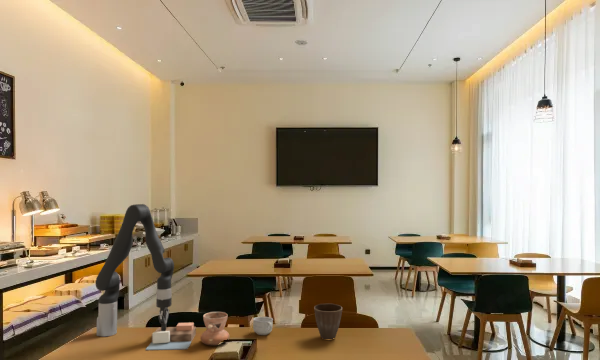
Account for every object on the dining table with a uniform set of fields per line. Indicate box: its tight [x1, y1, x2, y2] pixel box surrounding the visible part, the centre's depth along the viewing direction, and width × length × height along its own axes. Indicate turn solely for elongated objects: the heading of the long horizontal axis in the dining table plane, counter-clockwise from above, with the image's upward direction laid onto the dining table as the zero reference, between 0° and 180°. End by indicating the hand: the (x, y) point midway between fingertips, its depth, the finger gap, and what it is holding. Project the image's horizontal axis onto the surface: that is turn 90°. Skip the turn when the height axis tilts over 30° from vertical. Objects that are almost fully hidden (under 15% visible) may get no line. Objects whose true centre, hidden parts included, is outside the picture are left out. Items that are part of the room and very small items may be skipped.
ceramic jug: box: [200, 311, 230, 346], centre depth 207 cm, size 18×14×14 cm
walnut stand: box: [151, 326, 197, 343], centre depth 213 cm, size 20×12×4 cm, turn 94°
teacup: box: [252, 316, 274, 336], centre depth 220 cm, size 14×11×8 cm
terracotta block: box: [175, 322, 195, 331], centre depth 216 cm, size 8×5×2 cm, turn 94°
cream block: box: [151, 331, 170, 344], centre depth 205 cm, size 8×5×2 cm
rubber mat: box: [145, 341, 192, 351], centre depth 202 cm, size 20×10×1 cm, turn 94°
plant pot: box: [313, 303, 343, 340], centre depth 214 cm, size 15×15×16 cm
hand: (163, 330), depth 210 cm, fingers closed
